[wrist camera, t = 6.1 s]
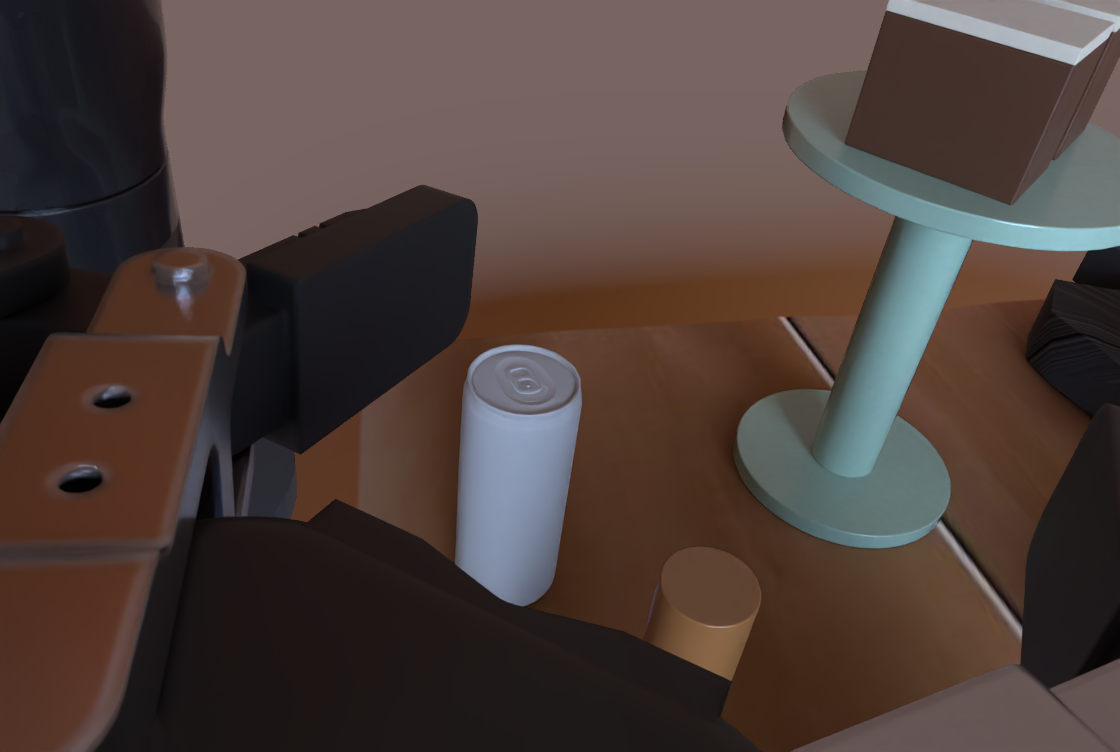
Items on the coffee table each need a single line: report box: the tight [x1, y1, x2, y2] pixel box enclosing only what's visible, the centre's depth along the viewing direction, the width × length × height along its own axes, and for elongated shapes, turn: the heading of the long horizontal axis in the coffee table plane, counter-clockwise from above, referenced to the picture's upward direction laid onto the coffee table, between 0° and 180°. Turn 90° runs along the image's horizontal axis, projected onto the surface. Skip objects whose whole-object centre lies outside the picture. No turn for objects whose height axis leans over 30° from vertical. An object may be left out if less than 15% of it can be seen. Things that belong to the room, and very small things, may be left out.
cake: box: [845, 0, 1115, 205], centre depth 36 cm, size 5×7×6 cm
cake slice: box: [1033, 0, 1120, 160], centre depth 40 cm, size 5×7×6 cm
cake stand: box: [733, 71, 1120, 549], centre depth 46 cm, size 16×16×20 cm
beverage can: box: [455, 344, 582, 607], centre depth 40 cm, size 5×5×12 cm
